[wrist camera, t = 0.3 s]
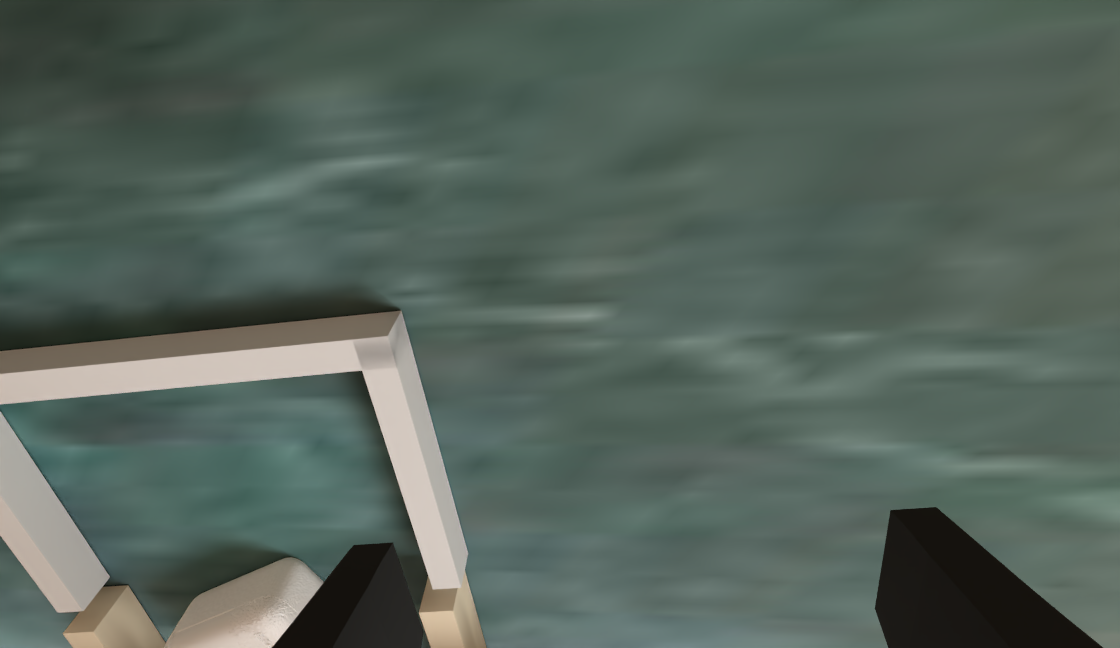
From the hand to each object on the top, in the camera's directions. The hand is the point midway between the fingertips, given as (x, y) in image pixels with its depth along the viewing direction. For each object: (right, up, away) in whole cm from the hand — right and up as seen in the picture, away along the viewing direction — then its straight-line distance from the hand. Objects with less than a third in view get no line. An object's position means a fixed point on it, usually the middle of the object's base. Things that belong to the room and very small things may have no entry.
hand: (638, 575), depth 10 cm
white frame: (-13, -1, +12) cm, 17 cm away
